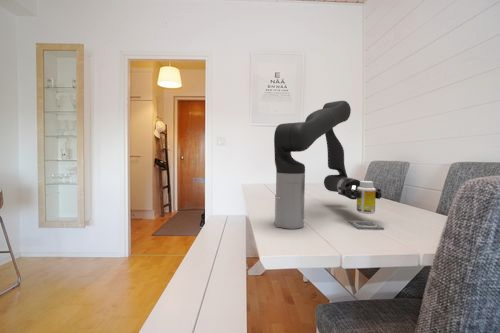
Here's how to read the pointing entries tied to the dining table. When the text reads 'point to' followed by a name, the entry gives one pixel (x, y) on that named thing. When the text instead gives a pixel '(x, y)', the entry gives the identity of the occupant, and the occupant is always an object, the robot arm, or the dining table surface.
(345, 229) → the dining table surface
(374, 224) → the slate tile
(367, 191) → the supplement bottle
